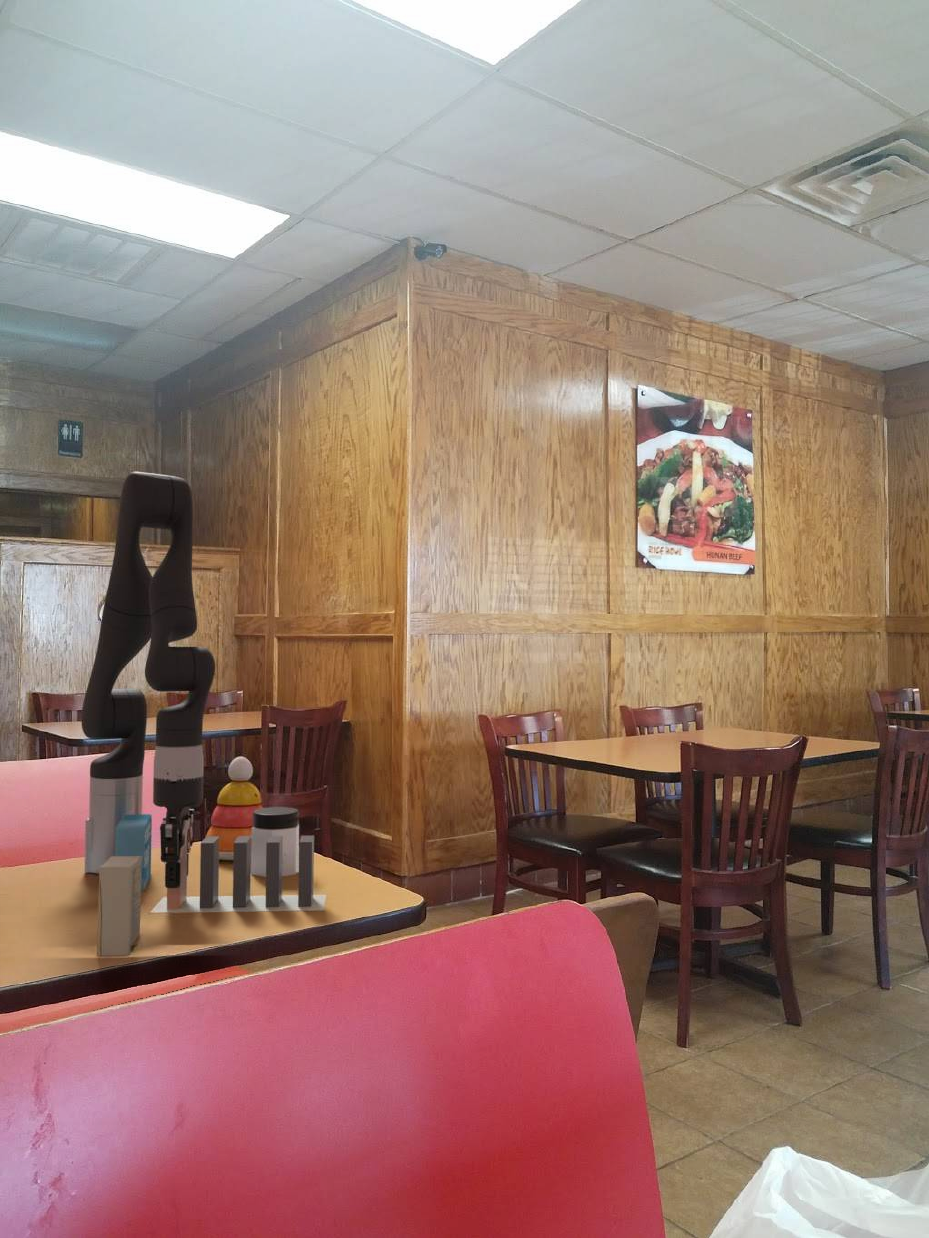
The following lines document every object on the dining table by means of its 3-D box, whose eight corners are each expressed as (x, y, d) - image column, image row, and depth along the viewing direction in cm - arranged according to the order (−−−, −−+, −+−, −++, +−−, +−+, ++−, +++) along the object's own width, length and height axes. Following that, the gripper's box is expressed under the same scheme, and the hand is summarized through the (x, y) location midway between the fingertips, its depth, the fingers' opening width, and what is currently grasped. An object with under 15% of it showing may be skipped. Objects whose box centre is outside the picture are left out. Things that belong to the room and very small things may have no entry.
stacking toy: (259, 866, 181) (261, 762, 182) (188, 862, 183) (190, 760, 184) (285, 850, 195) (286, 753, 196) (218, 847, 197) (220, 752, 198)
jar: (259, 886, 166) (260, 816, 167) (242, 876, 173) (243, 809, 173) (307, 879, 171) (308, 812, 172) (289, 870, 178) (290, 805, 178)
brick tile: (166, 908, 148) (167, 843, 148) (173, 900, 153) (174, 836, 153) (180, 908, 148) (181, 843, 148) (186, 899, 153) (187, 836, 153)
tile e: (298, 906, 149) (299, 842, 150) (300, 898, 154) (301, 835, 155) (311, 906, 150) (312, 842, 150) (313, 898, 155) (314, 835, 155)
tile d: (265, 907, 149) (266, 842, 149) (269, 898, 154) (270, 835, 154) (278, 907, 149) (279, 842, 149) (281, 898, 154) (282, 835, 154)
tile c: (232, 907, 148) (233, 842, 149) (237, 899, 153) (238, 836, 154) (245, 907, 149) (246, 842, 149) (250, 898, 154) (251, 836, 154)
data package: (143, 898, 158) (144, 825, 158) (114, 900, 157) (115, 826, 157) (150, 880, 170) (152, 812, 170) (123, 881, 169) (125, 813, 169)
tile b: (199, 908, 148) (200, 843, 148) (205, 899, 153) (206, 836, 153) (212, 908, 148) (213, 842, 148) (218, 899, 153) (219, 836, 153)
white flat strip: (149, 920, 145) (150, 912, 145) (163, 904, 154) (163, 896, 154) (323, 917, 148) (323, 909, 148) (326, 901, 157) (326, 894, 157)
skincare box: (109, 942, 135) (110, 855, 135) (141, 942, 135) (143, 855, 135) (95, 957, 129) (97, 866, 129) (129, 956, 129) (131, 865, 129)
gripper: (164, 767, 157) (162, 871, 157) (143, 780, 143) (140, 894, 143) (210, 767, 158) (209, 871, 158) (194, 780, 144) (192, 894, 143)
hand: (176, 881), depth 150 cm, fingers open, 5 cm apart
